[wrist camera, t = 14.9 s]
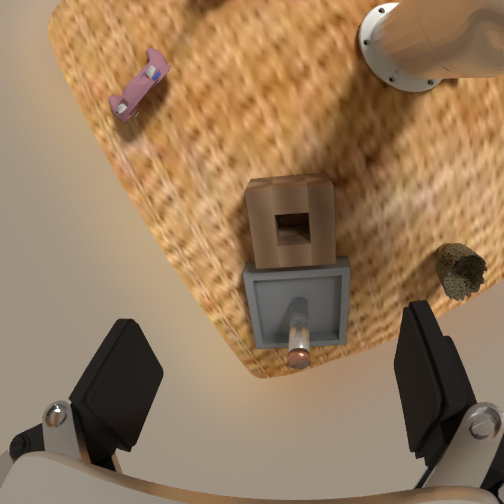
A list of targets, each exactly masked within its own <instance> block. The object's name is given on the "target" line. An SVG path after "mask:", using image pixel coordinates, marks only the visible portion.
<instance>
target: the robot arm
mask: <svg viewBox="0 0 504 504" xmlns="http://www.w3.org/2000/svg"><path fill="white" fill-rule="evenodd" d="M379 11H381V13H380V12H379ZM358 39H359V47H360V50H361V53H362V56H363V58H364V60H365V62H366V64H367V65H368V66H369V68H370V69H371V71H372V72H373V73H374V74H375V75H376V76H377V77H378V78H379V79H381V80H382V81H383V82H385V83H386V84H388V85H390V86H391V87H393V88H396V89H399V90H402V91H407V92H422V91H426V90H429V89H432V88H433V87H435V86H436V85H438V84H439V82H440V81H441V80H442V79H447V78H492V77H497V76H500V75H503V74H504V0H403V1H402V2H401V3H385V4H381V5H379V6H376V7H375V8H373V9H372V10H371V11H369V12H368V13H367V14H366V15H365V17H364V19H363V20H362V22H361V25H360V28H359V35H358ZM364 42H366V43H367V45H364ZM389 78H391V79H392V81H389ZM428 81H429V84H428ZM394 370H395V375H396V380H397V384H398V389H399V393H400V398H401V403H402V408H403V414H404V419H405V425H406V431H407V437H408V443H409V449H410V452H415V456H416V459H418V458H422V457H424V459H425V465H426V466H428V467H427V469H426V470H425V471H424V473H423V475H422V476H421V478H420V479H419V481H418V482H417V484H416V485H415V486H414V488H413V489H412V490H405V491H398V492H391V493H385V494H378V495H370V496H362V497H351V498H339V499H323V500H268V499H267V500H266V499H251V498H239V497H230V496H221V495H214V494H207V493H201V492H194V491H189V490H184V489H179V488H174V487H169V486H165V485H161V484H156V483H152V482H148V481H145V480H140V479H137V478H134V477H130V476H127V475H124V474H123V473H122V470H121V467H120V465H119V462H118V459H117V456H116V453H115V450H116V448H118V449H120V450H124V451H127V452H130V451H131V448H132V446H134V445H135V444H136V443H137V440H138V438H139V435H140V432H141V430H142V427H143V425H144V422H145V420H146V417H147V415H148V412H149V410H150V408H151V405H152V403H153V400H154V398H155V395H156V393H157V390H158V388H159V385H160V383H161V381H162V378H163V369H162V367H161V365H160V363H159V361H158V360H157V358H156V356H155V354H154V353H153V351H152V349H151V347H150V345H149V343H148V341H147V339H146V338H145V336H144V334H143V332H142V330H141V328H140V326H139V325H138V323H136V322H135V321H134V320H133V319H118V320H117V321H116V322H115V324H114V325H113V327H112V328H111V330H110V331H109V333H108V335H107V336H106V338H105V339H104V341H103V342H102V344H101V346H100V347H99V349H98V350H97V352H96V353H95V355H94V357H93V358H92V360H91V361H90V363H89V365H88V366H87V368H86V370H85V371H84V373H83V375H82V376H81V378H80V380H79V381H78V383H77V385H76V386H75V388H74V390H73V392H72V393H71V395H70V397H69V400H70V401H71V402H72V403H71V405H69V404H68V403H67V402H65V401H56V402H54V403H52V404H51V405H49V406H48V407H47V409H46V410H45V411H44V414H43V416H42V423H41V424H39V425H37V426H35V427H33V428H31V429H28V430H26V431H24V432H22V433H20V434H18V435H17V436H16V437H14V439H13V440H12V442H11V444H10V452H9V451H8V450H7V451H5V452H4V453H3V454H2V455H1V456H0V504H504V414H503V412H502V411H501V410H500V408H499V407H498V406H496V405H494V404H492V403H488V402H481V403H477V401H476V399H475V395H474V393H473V390H472V387H471V384H470V382H469V379H468V377H467V374H466V371H465V369H464V366H463V364H462V361H461V359H460V356H459V354H458V352H457V349H456V347H455V345H454V342H453V341H452V339H451V337H450V336H443V334H442V332H441V330H440V327H439V325H438V323H437V321H436V318H435V316H434V314H433V312H432V310H431V308H430V306H429V303H428V302H427V300H420V301H413V302H410V303H409V305H408V307H404V310H403V316H402V322H401V328H400V333H399V339H398V344H397V349H396V354H395V359H394Z"/></svg>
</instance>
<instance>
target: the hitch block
mask: <svg viewBox="0 0 504 504" xmlns="http://www.w3.org/2000/svg"><path fill="white" fill-rule="evenodd" d="M245 198H246V204H247V211H248V218H249V224H250V231H251V238H252V244H253V251H254V258H255V264H256V269H263V268H279V267H295V266H310V265H325V264H336V238H335V202H334V185H333V183H332V181H331V179H330V177H329V175H328V173H319V174H305V175H292V176H280V177H269V178H258V179H251V180H250V182H249V184H248V187H247V189H246V191H245ZM295 213H307V214H308V224H302V225H288V226H279V220H278V215H282V214H295Z"/></svg>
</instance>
